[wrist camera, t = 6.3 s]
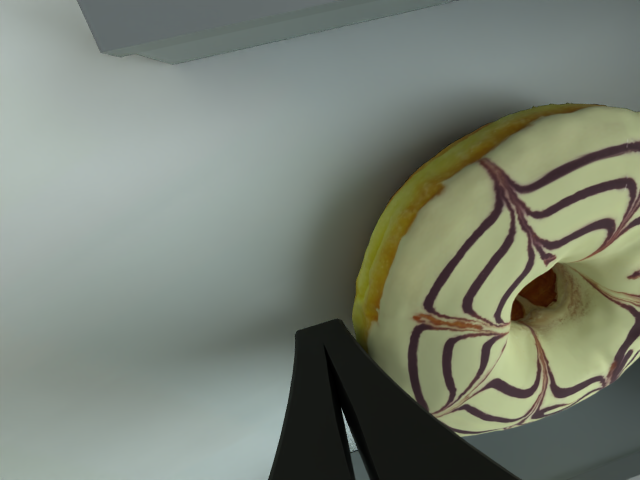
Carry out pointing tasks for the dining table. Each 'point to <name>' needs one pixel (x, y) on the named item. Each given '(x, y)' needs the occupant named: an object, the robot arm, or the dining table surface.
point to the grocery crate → (332, 12)
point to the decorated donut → (510, 269)
